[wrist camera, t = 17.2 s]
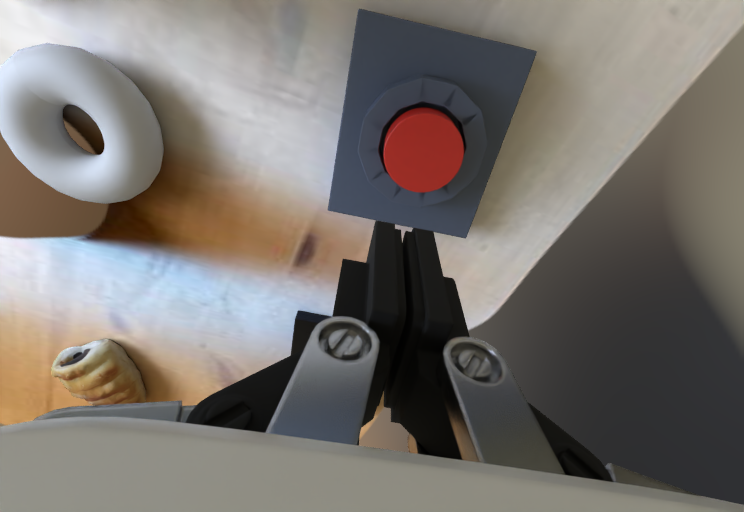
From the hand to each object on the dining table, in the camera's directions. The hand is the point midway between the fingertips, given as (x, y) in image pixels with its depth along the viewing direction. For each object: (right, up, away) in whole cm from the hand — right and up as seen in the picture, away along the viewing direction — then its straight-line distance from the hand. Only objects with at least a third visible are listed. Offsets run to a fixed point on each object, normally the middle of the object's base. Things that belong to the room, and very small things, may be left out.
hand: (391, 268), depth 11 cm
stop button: (+2, +7, +11) cm, 13 cm away
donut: (-19, +10, +15) cm, 26 cm away
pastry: (-27, -11, +28) cm, 41 cm away
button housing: (+3, +9, +14) cm, 17 cm away
